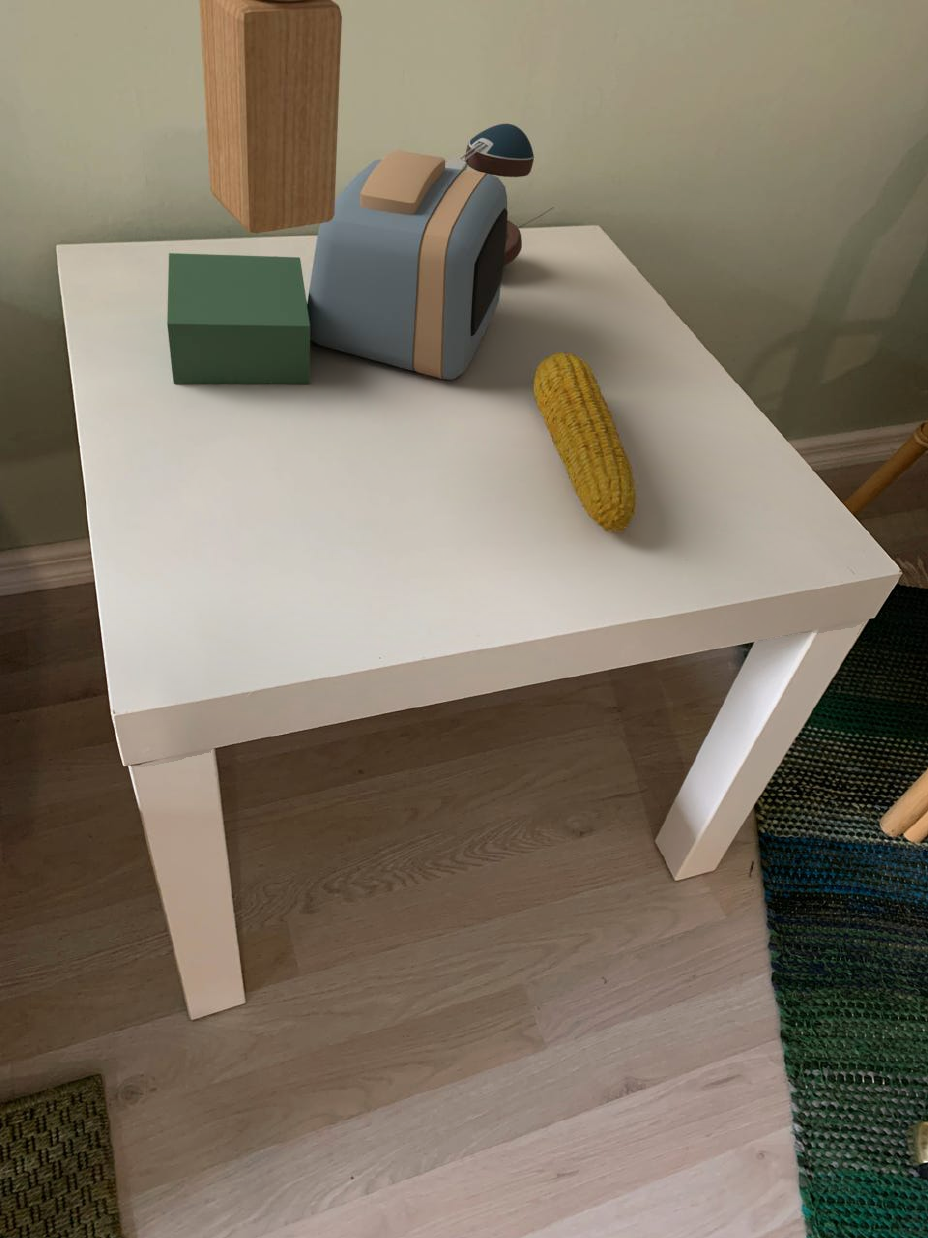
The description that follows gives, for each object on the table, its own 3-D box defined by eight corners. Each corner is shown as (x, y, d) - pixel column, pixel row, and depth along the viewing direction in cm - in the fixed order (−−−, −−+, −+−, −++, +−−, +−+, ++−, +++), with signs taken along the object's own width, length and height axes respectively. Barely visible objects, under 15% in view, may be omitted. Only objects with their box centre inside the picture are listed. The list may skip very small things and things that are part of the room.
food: (521, 396, 91) (532, 341, 86) (576, 395, 92) (590, 341, 88) (587, 550, 77) (605, 494, 73) (650, 546, 79) (672, 491, 74)
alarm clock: (460, 393, 90) (486, 231, 78) (296, 348, 91) (298, 182, 79) (499, 310, 101) (528, 156, 89) (353, 270, 102) (362, 114, 90)
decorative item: (337, 224, 66) (352, -139, 51) (248, 238, 62) (236, -143, 48) (293, 182, 69) (295, -170, 54) (206, 194, 66) (184, -176, 51)
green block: (173, 383, 85) (167, 323, 80) (174, 311, 92) (168, 252, 88) (309, 384, 87) (310, 325, 83) (299, 313, 95) (300, 256, 91)
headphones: (529, 220, 113) (396, 291, 103) (547, 87, 101) (399, 152, 90) (569, 242, 111) (438, 318, 100) (593, 109, 99) (446, 179, 88)
